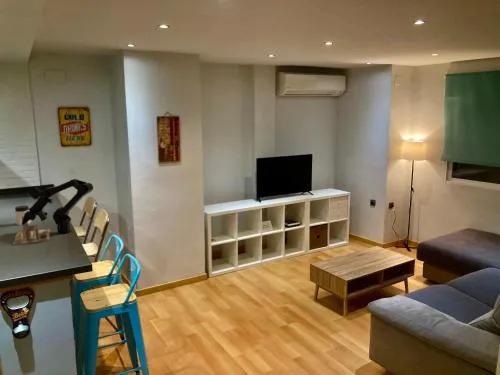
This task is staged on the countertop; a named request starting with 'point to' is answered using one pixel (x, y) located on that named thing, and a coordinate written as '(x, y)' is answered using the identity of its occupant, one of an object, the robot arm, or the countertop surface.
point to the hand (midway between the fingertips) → (22, 223)
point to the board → (33, 237)
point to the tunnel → (31, 228)
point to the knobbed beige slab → (23, 235)
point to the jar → (20, 214)
